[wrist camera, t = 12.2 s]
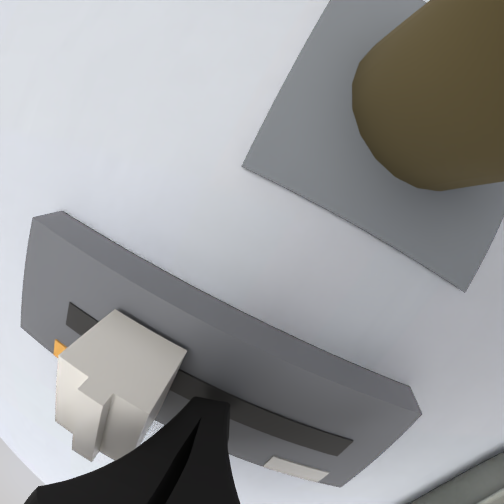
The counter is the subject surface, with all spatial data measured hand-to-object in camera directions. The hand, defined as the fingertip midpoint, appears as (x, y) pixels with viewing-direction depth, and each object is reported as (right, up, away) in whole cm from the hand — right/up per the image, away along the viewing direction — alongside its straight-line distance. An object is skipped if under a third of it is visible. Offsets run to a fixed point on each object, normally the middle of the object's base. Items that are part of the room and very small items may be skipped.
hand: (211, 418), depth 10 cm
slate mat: (+8, +11, -1) cm, 14 cm away
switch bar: (-1, +1, +3) cm, 3 cm away
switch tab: (-3, +2, +1) cm, 3 cm away
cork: (+8, +11, -1) cm, 14 cm away
